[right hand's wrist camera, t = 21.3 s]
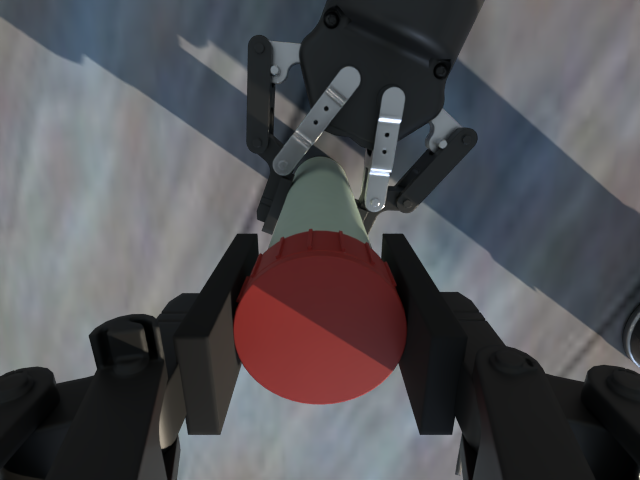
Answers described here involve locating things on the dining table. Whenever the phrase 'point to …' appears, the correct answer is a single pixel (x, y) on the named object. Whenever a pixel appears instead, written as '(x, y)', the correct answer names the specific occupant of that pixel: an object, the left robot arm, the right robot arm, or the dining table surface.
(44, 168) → the dining table surface
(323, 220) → the bottle
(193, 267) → the dining table surface
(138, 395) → the right robot arm
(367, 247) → the lid
